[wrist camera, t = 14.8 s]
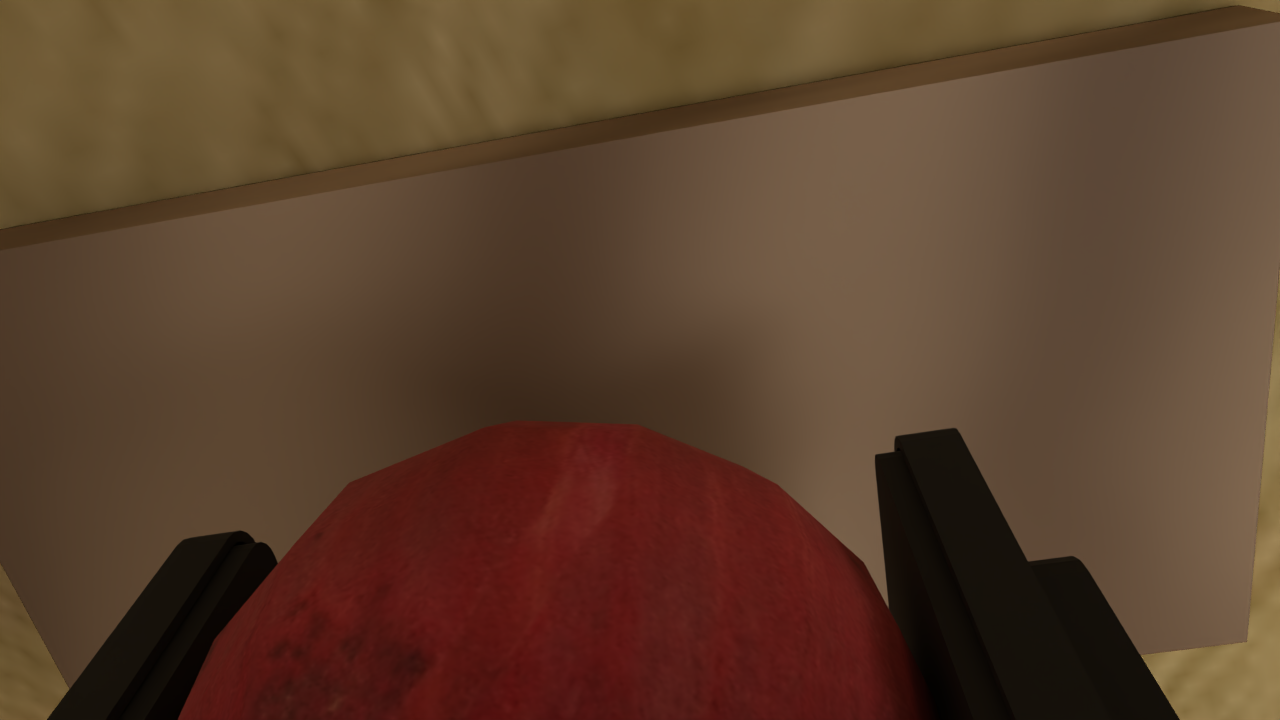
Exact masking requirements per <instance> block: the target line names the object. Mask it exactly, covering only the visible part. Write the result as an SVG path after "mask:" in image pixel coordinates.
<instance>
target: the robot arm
mask: <svg viewBox="0 0 1280 720" xmlns="http://www.w3.org/2000/svg"><path fill="white" fill-rule="evenodd" d="M875 472H876V482H877V492H878V502H879V512H880V522H881V532H882V542H883V553H884V563H885V573H886V583H887V593H888V603H889V610H890V612H891V614H892V616H893V618H894V619H895V621H896V623H897V625H898V627H899V629H900V631H901V633H902V635H903V637H904V639H905V641H906V643H907V645H908V647H909V649H910V651H911V653H912V655H913V657H914V659H915V661H916V663H917V665H918V667H919V669H920V671H921V673H922V675H923V677H924V679H925V681H926V684H927V686H928V688H929V690H930V692H931V694H932V696H933V698H934V700H935V703H936V707H937V710H938V714H939V718H940V720H1180V719H1179V718H1178V716H1177V714H1176V713H1175V711H1174V710H1173V708H1172V706H1171V705H1170V703H1169V701H1168V700H1167V698H1166V696H1165V695H1164V693H1163V692H1162V690H1161V688H1160V687H1159V685H1158V683H1157V682H1156V680H1155V678H1154V677H1153V675H1152V674H1151V672H1150V670H1149V669H1148V667H1147V665H1146V664H1145V662H1144V660H1143V659H1142V657H1141V656H1140V654H1139V652H1138V651H1137V649H1136V647H1135V646H1134V644H1133V642H1132V641H1131V639H1130V638H1129V636H1128V634H1127V633H1126V631H1125V629H1124V628H1123V626H1122V624H1121V623H1120V621H1119V620H1118V618H1117V616H1116V615H1115V613H1114V611H1113V610H1112V608H1111V606H1110V605H1109V603H1108V602H1107V600H1106V598H1105V597H1104V595H1103V593H1102V592H1101V590H1100V588H1099V587H1098V585H1097V584H1096V582H1095V580H1094V579H1093V577H1092V575H1091V574H1090V572H1089V571H1088V569H1087V568H1086V567H1085V565H1084V564H1083V563H1082V561H1081V560H1080V559H1078V558H1076V557H1074V556H1067V557H1059V558H1051V559H1043V560H1035V561H1027V559H1026V557H1025V555H1024V553H1023V551H1022V549H1021V547H1020V546H1019V544H1018V542H1017V540H1016V538H1015V536H1014V534H1013V532H1012V530H1011V529H1010V527H1009V525H1008V523H1007V521H1006V519H1005V517H1004V515H1003V513H1002V512H1001V510H1000V508H999V506H998V504H997V502H996V500H995V498H994V496H993V495H992V493H991V491H990V489H989V487H988V485H987V483H986V481H985V479H984V478H983V476H982V474H981V472H980V470H979V468H978V466H977V464H976V462H975V461H974V459H973V457H972V455H971V453H970V451H969V449H968V447H967V445H966V444H965V442H964V440H963V438H962V436H961V434H960V432H959V431H958V430H957V428H948V429H941V430H934V431H927V432H920V433H913V434H906V435H899V436H896V437H895V440H894V452H889V453H882V454H876V455H875ZM277 564H278V562H277V560H276V557H275V555H274V553H273V551H272V549H271V548H270V547H269V546H268V545H267V544H266V543H263V542H257V543H256V542H255V540H254V539H253V538H252V537H251V536H250V535H249V534H248V533H247V532H244V531H241V530H239V531H233V532H226V533H219V534H212V535H205V536H198V537H191V538H187V539H183V540H182V541H181V542H180V543H179V544H178V545H177V546H176V547H175V549H174V550H173V551H172V553H171V554H170V555H169V557H168V558H167V559H166V561H165V562H164V563H163V565H162V566H161V567H160V569H159V570H158V571H157V573H156V574H155V575H154V577H153V578H152V579H151V581H150V582H149V583H148V585H147V586H146V587H145V589H144V590H143V592H142V593H141V594H140V596H139V597H138V598H137V600H136V601H135V602H134V604H133V605H132V606H131V608H130V609H129V610H128V612H127V613H126V614H125V616H124V617H123V618H122V620H121V621H120V622H119V624H118V625H117V626H116V628H115V629H114V630H113V632H112V633H111V634H110V636H109V637H108V638H107V640H106V641H105V642H104V644H103V645H102V647H101V648H100V649H99V651H98V652H97V653H96V655H95V656H94V657H93V659H92V660H91V661H90V663H89V664H88V665H87V667H86V668H85V669H84V671H83V672H82V673H81V675H80V676H79V677H78V679H77V680H76V681H75V683H74V684H73V685H72V687H71V688H70V689H69V691H68V692H67V693H66V695H65V696H64V698H63V699H62V700H61V702H60V703H59V704H58V706H57V707H56V708H55V710H54V711H53V712H52V714H51V715H50V716H49V718H48V719H47V720H178V718H179V715H180V713H181V711H182V709H183V707H184V705H185V702H186V700H187V698H188V696H189V694H190V692H191V689H192V687H193V685H194V683H195V681H196V678H197V676H198V674H199V672H200V670H201V668H202V665H203V663H204V661H205V659H206V657H207V654H208V652H209V650H210V648H211V646H212V644H213V641H214V639H215V638H216V637H217V636H218V635H219V633H220V632H221V631H222V630H223V629H224V627H225V626H226V625H227V624H228V623H229V622H230V620H231V619H232V618H233V617H234V616H235V614H236V613H237V612H238V611H239V610H240V608H241V607H242V606H243V605H244V604H245V602H246V601H247V600H248V599H249V598H250V596H251V595H252V594H253V593H254V592H255V590H256V589H257V588H258V587H259V586H260V584H261V583H262V582H263V581H264V580H265V578H266V577H267V576H268V575H269V574H270V573H271V571H272V570H273V569H274V568H275V567H276V565H277Z"/></svg>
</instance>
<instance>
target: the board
mask: <svg viewBox="0 0 1280 720" xmlns="http://www.w3.org/2000/svg"><path fill="white" fill-rule="evenodd" d="M1279 269H1280V13H1275V12H1270V11H1265V10H1260V9H1255V8H1250V7H1245V6H1240V5H1238V6H1233V7H1227V8H1222V9H1216V10H1211V11H1205V12H1200V13H1194V14H1189V15H1183V16H1178V17H1172V18H1167V19H1161V20H1156V21H1150V22H1145V23H1139V24H1133V25H1128V26H1122V27H1117V28H1111V29H1106V30H1100V31H1095V32H1089V33H1084V34H1078V35H1073V36H1067V37H1062V38H1056V39H1051V40H1045V41H1040V42H1034V43H1029V44H1023V45H1017V46H1012V47H1006V48H1001V49H995V50H990V51H984V52H979V53H973V54H968V55H962V56H957V57H951V58H946V59H940V60H935V61H929V62H924V63H918V64H912V65H907V66H901V67H896V68H890V69H885V70H879V71H874V72H868V73H863V74H857V75H852V76H846V77H841V78H835V79H830V80H824V81H819V82H813V83H808V84H802V85H796V86H791V87H785V88H780V89H774V90H769V91H763V92H758V93H752V94H747V95H741V96H736V97H730V98H725V99H719V100H714V101H708V102H703V103H697V104H692V105H686V106H680V107H675V108H669V109H664V110H658V111H653V112H647V113H642V114H636V115H631V116H625V117H620V118H614V119H609V120H603V121H598V122H592V123H587V124H581V125H575V126H570V127H564V128H559V129H553V130H548V131H542V132H537V133H531V134H526V135H520V136H515V137H509V138H504V139H498V140H493V141H487V142H482V143H476V144H471V145H465V146H459V147H454V148H448V149H443V150H437V151H432V152H426V153H421V154H415V155H410V156H404V157H399V158H393V159H388V160H382V161H377V162H371V163H366V164H360V165H355V166H349V167H343V168H338V169H332V170H327V171H321V172H316V173H310V174H305V175H299V176H294V177H288V178H283V179H277V180H272V181H266V182H261V183H255V184H250V185H244V186H238V187H233V188H227V189H222V190H216V191H211V192H205V193H200V194H194V195H189V196H183V197H178V198H172V199H167V200H161V201H156V202H150V203H145V204H139V205H134V206H128V207H122V208H117V209H111V210H106V211H100V212H95V213H89V214H84V215H78V216H73V217H67V218H62V219H56V220H51V221H45V222H40V223H34V224H29V225H23V226H18V227H12V228H6V229H1V230H0V563H1V565H2V566H3V568H4V570H5V572H6V574H7V576H8V577H9V579H10V581H11V583H12V585H13V587H14V588H15V590H16V592H17V594H18V596H19V597H20V599H21V601H22V603H23V605H24V607H25V608H26V610H27V612H28V614H29V616H30V618H31V619H32V621H33V623H34V625H35V627H36V629H37V630H38V632H39V634H40V636H41V638H42V640H43V641H44V643H45V645H46V647H47V649H48V651H49V652H50V654H51V656H52V658H53V660H54V662H55V663H56V665H57V667H58V669H59V671H60V673H61V674H62V676H63V678H64V680H65V682H66V684H67V685H68V687H69V689H70V688H71V687H72V685H73V684H74V683H75V681H76V680H77V679H78V677H79V676H80V675H81V673H82V672H83V671H84V669H85V668H86V667H87V665H88V664H89V663H90V661H91V660H92V659H93V657H94V656H95V655H96V653H97V652H98V651H99V649H100V648H101V647H102V645H103V644H104V642H105V641H106V640H107V638H108V637H109V636H110V634H111V633H112V632H113V630H114V629H115V628H116V626H117V625H118V624H119V622H120V621H121V620H122V618H123V617H124V616H125V614H126V613H127V612H128V610H129V609H130V608H131V606H132V605H133V604H134V602H135V601H136V600H137V598H138V597H139V596H140V594H141V593H142V592H143V590H144V589H145V587H146V586H147V585H148V583H149V582H150V581H151V579H152V578H153V577H154V575H155V574H156V573H157V571H158V570H159V569H160V567H161V566H162V565H163V563H164V562H165V561H166V559H167V558H168V557H169V555H170V554H171V553H172V551H173V550H174V549H175V547H176V546H177V545H178V544H179V543H180V542H181V541H182V540H183V539H187V538H191V537H198V536H205V535H212V534H219V533H226V532H233V531H239V530H241V531H244V532H247V533H248V534H249V535H250V536H251V537H252V538H253V539H254V540H255V542H256V543H257V542H263V543H266V544H267V545H268V546H269V547H270V548H271V549H272V551H273V553H274V555H275V557H276V560H277V562H278V563H279V562H280V561H281V559H282V558H283V557H284V556H285V555H286V553H287V552H288V551H289V550H290V549H291V547H292V546H293V545H294V544H295V543H296V541H297V540H298V539H299V538H300V537H301V536H302V535H303V534H304V533H305V531H306V530H307V529H308V528H309V527H310V526H311V525H312V524H313V522H314V521H315V520H316V519H317V518H318V517H319V516H320V515H321V514H322V512H323V511H324V510H325V509H326V508H327V507H328V506H329V505H330V503H331V502H332V501H333V500H334V499H335V498H336V497H337V496H338V495H339V493H340V492H341V491H342V490H343V489H344V488H345V487H346V486H347V484H348V483H349V482H352V481H354V480H357V479H359V478H362V477H364V476H367V475H369V474H371V473H374V472H376V471H379V470H381V469H384V468H386V467H389V466H391V465H393V464H396V463H398V462H401V461H403V460H406V459H408V458H411V457H413V456H415V455H418V454H420V453H423V452H425V451H428V450H430V449H432V448H435V447H437V446H440V445H442V444H445V443H447V442H450V441H452V440H454V439H457V438H459V437H462V436H464V435H467V434H469V433H472V432H474V431H476V430H479V429H481V428H484V427H488V426H492V425H497V424H502V423H506V422H511V421H516V420H519V421H549V422H580V423H610V424H638V425H640V426H643V427H645V428H648V429H650V430H653V431H655V432H658V433H660V434H663V435H665V436H668V437H670V438H673V439H675V440H678V441H680V442H683V443H685V444H688V445H690V446H693V447H695V448H698V449H700V450H703V451H705V452H708V453H710V454H713V455H716V456H718V457H721V458H723V459H726V460H728V461H731V462H733V463H736V464H738V465H741V466H743V467H745V468H747V469H749V470H751V471H753V472H755V473H757V474H758V475H760V476H762V477H764V478H766V479H768V480H770V481H772V482H774V483H776V484H778V485H779V486H780V487H781V488H782V489H783V490H784V491H785V492H786V493H788V494H789V495H790V496H791V497H792V498H793V499H794V500H795V501H796V502H798V503H799V504H800V505H801V506H802V507H803V508H804V509H805V510H806V511H808V512H809V513H810V514H811V515H812V516H813V517H814V518H815V519H816V520H817V521H819V522H820V523H821V524H822V525H823V526H824V527H825V528H826V529H827V530H829V531H830V532H831V533H832V534H833V535H834V536H835V537H836V538H837V539H838V540H840V541H841V542H842V543H843V544H844V545H845V546H846V547H847V548H848V549H850V550H851V551H852V552H853V553H854V554H855V555H856V556H857V557H858V558H859V559H861V560H862V561H863V562H864V564H865V565H866V567H867V569H868V571H869V573H870V575H871V577H872V578H873V580H874V582H875V584H876V586H877V588H878V590H879V592H880V593H881V595H882V597H883V599H884V601H885V603H886V605H887V606H888V608H889V603H888V593H887V583H886V573H885V563H884V553H883V542H882V532H881V522H880V512H879V502H878V492H877V482H876V472H875V455H876V454H882V453H889V452H894V440H895V437H896V436H899V435H906V434H913V433H920V432H927V431H934V430H941V429H948V428H957V430H958V431H959V432H960V434H961V436H962V438H963V440H964V442H965V444H966V445H967V447H968V449H969V451H970V453H971V455H972V457H973V459H974V461H975V462H976V464H977V466H978V468H979V470H980V472H981V474H982V476H983V478H984V479H985V481H986V483H987V485H988V487H989V489H990V491H991V493H992V495H993V496H994V498H995V500H996V502H997V504H998V506H999V508H1000V510H1001V512H1002V513H1003V515H1004V517H1005V519H1006V521H1007V523H1008V525H1009V527H1010V529H1011V530H1012V532H1013V534H1014V536H1015V538H1016V540H1017V542H1018V544H1019V546H1020V547H1021V549H1022V551H1023V553H1024V555H1025V557H1026V559H1027V561H1035V560H1043V559H1051V558H1059V557H1067V556H1074V557H1076V558H1078V559H1080V560H1081V561H1082V563H1083V564H1084V565H1085V567H1086V568H1087V569H1088V571H1089V572H1090V574H1091V575H1092V577H1093V579H1094V580H1095V582H1096V584H1097V585H1098V587H1099V588H1100V590H1101V592H1102V593H1103V595H1104V597H1105V598H1106V600H1107V602H1108V603H1109V605H1110V606H1111V608H1112V610H1113V611H1114V613H1115V615H1116V616H1117V618H1118V620H1119V621H1120V623H1121V624H1122V626H1123V628H1124V629H1125V631H1126V633H1127V634H1128V636H1129V638H1130V639H1131V641H1132V642H1133V644H1134V646H1135V647H1136V649H1137V651H1138V652H1139V654H1140V655H1144V654H1152V653H1160V652H1169V651H1177V650H1185V649H1193V648H1201V647H1209V646H1218V645H1226V644H1234V643H1242V642H1247V636H1248V625H1249V613H1250V602H1251V590H1252V579H1253V567H1254V556H1255V544H1256V533H1257V521H1258V510H1259V498H1260V487H1261V475H1262V464H1263V452H1264V441H1265V430H1266V418H1267V407H1268V395H1269V384H1270V372H1271V361H1272V349H1273V338H1274V326H1275V315H1276V303H1277V292H1278V280H1279Z"/></svg>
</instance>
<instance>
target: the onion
mask: <svg viewBox="0 0 1280 720" xmlns="http://www.w3.org/2000/svg"><path fill="white" fill-rule="evenodd" d="M178 720H940V718H939V714H938V710H937V707H936V703H935V700H934V698H933V696H932V694H931V692H930V690H929V688H928V686H927V684H926V681H925V679H924V677H923V675H922V673H921V671H920V669H919V667H918V665H917V663H916V661H915V659H914V657H913V655H912V653H911V651H910V649H909V647H908V645H907V643H906V641H905V639H904V637H903V635H902V633H901V631H900V629H899V627H898V625H897V623H896V621H895V619H894V618H893V616H892V614H891V612H890V610H889V608H888V606H887V605H886V603H885V601H884V599H883V597H882V595H881V593H880V592H879V590H878V588H877V586H876V584H875V582H874V580H873V578H872V577H871V575H870V573H869V571H868V569H867V567H866V565H865V564H864V562H863V561H862V560H861V559H859V558H858V557H857V556H856V555H855V554H854V553H853V552H852V551H851V550H850V549H848V548H847V547H846V546H845V545H844V544H843V543H842V542H841V541H840V540H838V539H837V538H836V537H835V536H834V535H833V534H832V533H831V532H830V531H829V530H827V529H826V528H825V527H824V526H823V525H822V524H821V523H820V522H819V521H817V520H816V519H815V518H814V517H813V516H812V515H811V514H810V513H809V512H808V511H806V510H805V509H804V508H803V507H802V506H801V505H800V504H799V503H798V502H796V501H795V500H794V499H793V498H792V497H791V496H790V495H789V494H788V493H786V492H785V491H784V490H783V489H782V488H781V487H780V486H779V485H778V484H776V483H774V482H772V481H770V480H768V479H766V478H764V477H762V476H760V475H758V474H757V473H755V472H753V471H751V470H749V469H747V468H745V467H743V466H741V465H738V464H736V463H733V462H731V461H728V460H726V459H723V458H721V457H718V456H716V455H713V454H710V453H708V452H705V451H703V450H700V449H698V448H695V447H693V446H690V445H688V444H685V443H683V442H680V441H678V440H675V439H673V438H670V437H668V436H665V435H663V434H660V433H658V432H655V431H653V430H650V429H648V428H645V427H643V426H640V425H638V424H610V423H580V422H549V421H519V420H516V421H511V422H506V423H502V424H497V425H492V426H488V427H484V428H481V429H479V430H476V431H474V432H472V433H469V434H467V435H464V436H462V437H459V438H457V439H454V440H452V441H450V442H447V443H445V444H442V445H440V446H437V447H435V448H432V449H430V450H428V451H425V452H423V453H420V454H418V455H415V456H413V457H411V458H408V459H406V460H403V461H401V462H398V463H396V464H393V465H391V466H389V467H386V468H384V469H381V470H379V471H376V472H374V473H371V474H369V475H367V476H364V477H362V478H359V479H357V480H354V481H352V482H349V483H348V484H347V486H346V487H345V488H344V489H343V490H342V491H341V492H340V493H339V495H338V496H337V497H336V498H335V499H334V500H333V501H332V502H331V503H330V505H329V506H328V507H327V508H326V509H325V510H324V511H323V512H322V514H321V515H320V516H319V517H318V518H317V519H316V520H315V521H314V522H313V524H312V525H311V526H310V527H309V528H308V529H307V530H306V531H305V533H304V534H303V535H302V536H301V537H300V538H299V539H298V540H297V541H296V543H295V544H294V545H293V546H292V547H291V549H290V550H289V551H288V552H287V553H286V555H285V556H284V557H283V558H282V559H281V561H280V562H279V563H278V564H277V565H276V567H275V568H274V569H273V570H272V571H271V573H270V574H269V575H268V576H267V577H266V578H265V580H264V581H263V582H262V583H261V584H260V586H259V587H258V588H257V589H256V590H255V592H254V593H253V594H252V595H251V596H250V598H249V599H248V600H247V601H246V602H245V604H244V605H243V606H242V607H241V608H240V610H239V611H238V612H237V613H236V614H235V616H234V617H233V618H232V619H231V620H230V622H229V623H228V624H227V625H226V626H225V627H224V629H223V630H222V631H221V632H220V633H219V635H218V636H217V637H216V638H215V639H214V641H213V644H212V646H211V648H210V650H209V652H208V654H207V657H206V659H205V661H204V663H203V665H202V668H201V670H200V672H199V674H198V676H197V678H196V681H195V683H194V685H193V687H192V689H191V692H190V694H189V696H188V698H187V700H186V702H185V705H184V707H183V709H182V711H181V713H180V715H179V718H178Z"/></svg>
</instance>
